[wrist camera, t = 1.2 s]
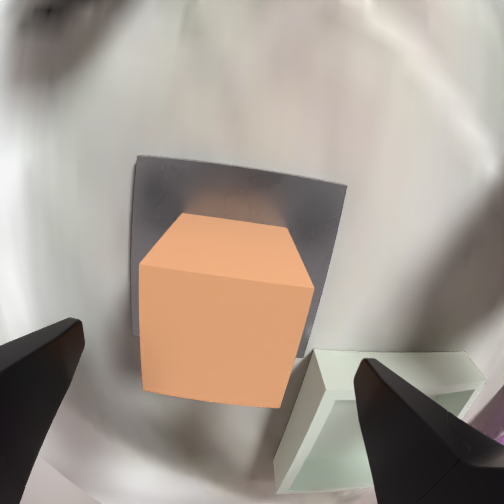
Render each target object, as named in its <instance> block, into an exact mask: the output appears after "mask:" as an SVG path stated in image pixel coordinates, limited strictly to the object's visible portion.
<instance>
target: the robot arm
mask: <svg viewBox="0 0 504 504" xmlns="http://www.w3.org/2000/svg"><path fill="white" fill-rule="evenodd" d="M84 346H85V339H84V332H83V325H82V322H81V321H80V320H79V319H75V318H67V319H64V320H62V321H59V322H57V323H55V324H52V325H50V326H47V327H45V328H42V329H40V330H37V331H35V332H32V333H30V334H27V335H25V336H23V337H20V338H18V339H15V340H13V341H10V342H8V343H6V344H3V345H1V346H0V504H19V503H20V501H21V498H22V495H23V492H24V489H25V485H26V483H27V481H28V478H29V476H30V473H31V470H32V468H33V465H34V463H35V460H36V458H37V456H38V453H39V451H40V448H41V446H42V444H43V441H44V439H45V437H46V435H47V432H48V430H49V428H50V426H51V423H52V421H53V419H54V417H55V415H56V413H57V410H58V408H59V406H60V404H61V402H62V400H63V398H64V396H65V394H66V392H67V390H68V388H69V386H70V383H71V381H72V378H73V375H74V373H75V370H76V367H77V365H78V362H79V359H80V357H81V354H82V352H83V349H84ZM353 384H354V391H355V398H356V405H357V413H358V420H359V424H360V429H361V433H362V437H363V441H364V445H365V449H366V453H367V457H368V462H369V466H370V470H371V475H372V479H373V484H374V488H375V493H376V498H377V503H378V504H504V445H503V444H501V443H499V442H497V441H495V440H494V439H492V438H490V437H489V436H487V435H485V434H483V433H482V432H480V431H478V430H477V429H475V428H473V427H472V426H470V425H468V424H467V423H465V422H464V421H462V420H461V419H459V418H458V417H456V416H455V415H453V414H452V413H451V412H449V411H447V410H446V409H445V408H444V407H442V406H441V405H439V404H438V403H436V402H435V401H434V400H432V399H431V398H429V397H428V396H427V395H425V394H424V393H422V392H421V391H420V390H418V389H417V388H415V387H414V386H413V385H411V384H410V383H408V382H407V381H406V380H404V379H403V378H402V377H400V376H399V375H397V374H396V373H395V372H393V371H392V370H390V369H389V368H388V367H386V366H385V365H384V364H382V363H381V362H379V361H378V360H377V359H375V358H363V359H362V360H361V362H360V364H359V367H358V369H357V371H356V374H355V376H354V380H353Z"/></svg>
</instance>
